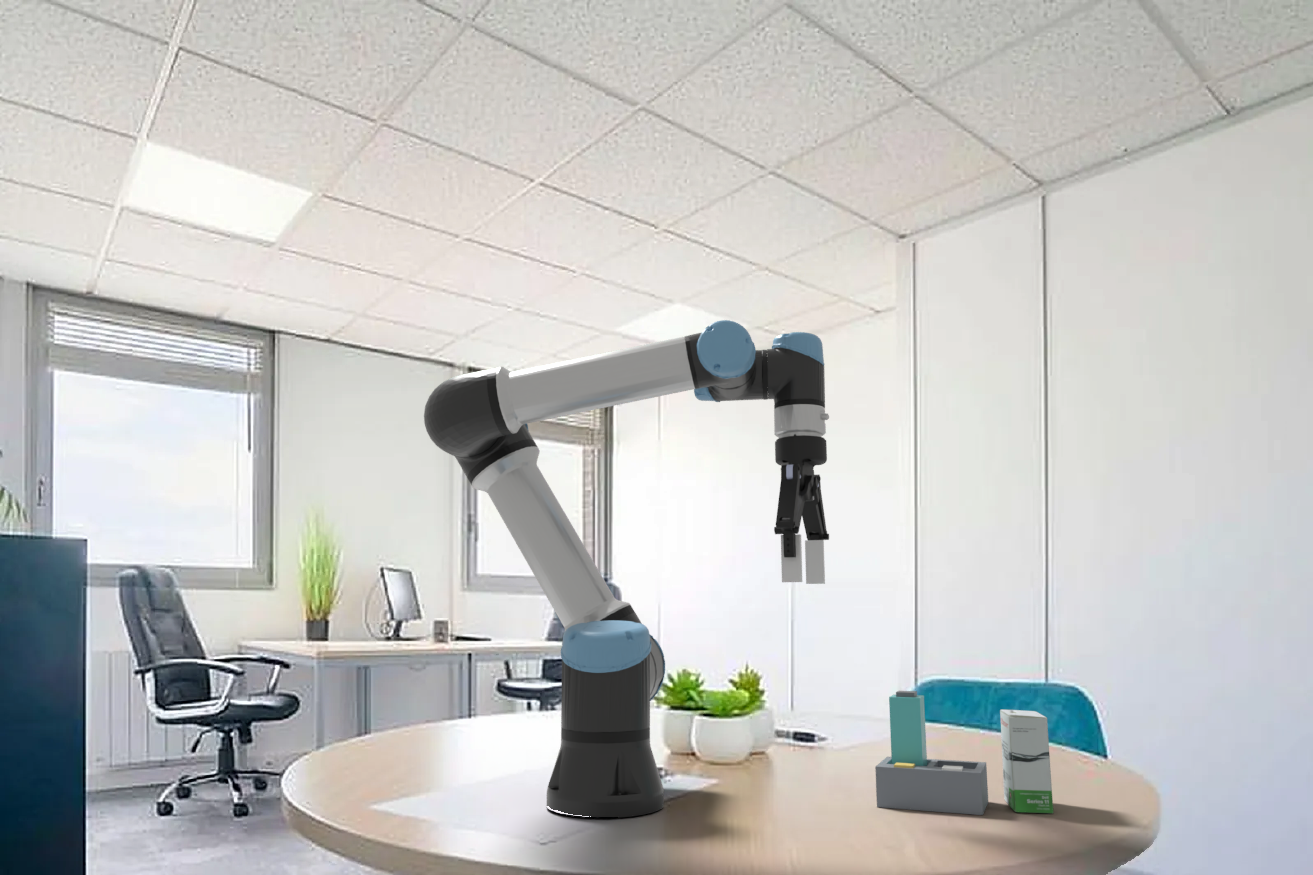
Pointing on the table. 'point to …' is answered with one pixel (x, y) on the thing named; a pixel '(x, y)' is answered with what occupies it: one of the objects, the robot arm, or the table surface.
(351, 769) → the table surface
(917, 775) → the socket block
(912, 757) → the plug
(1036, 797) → the ink box
